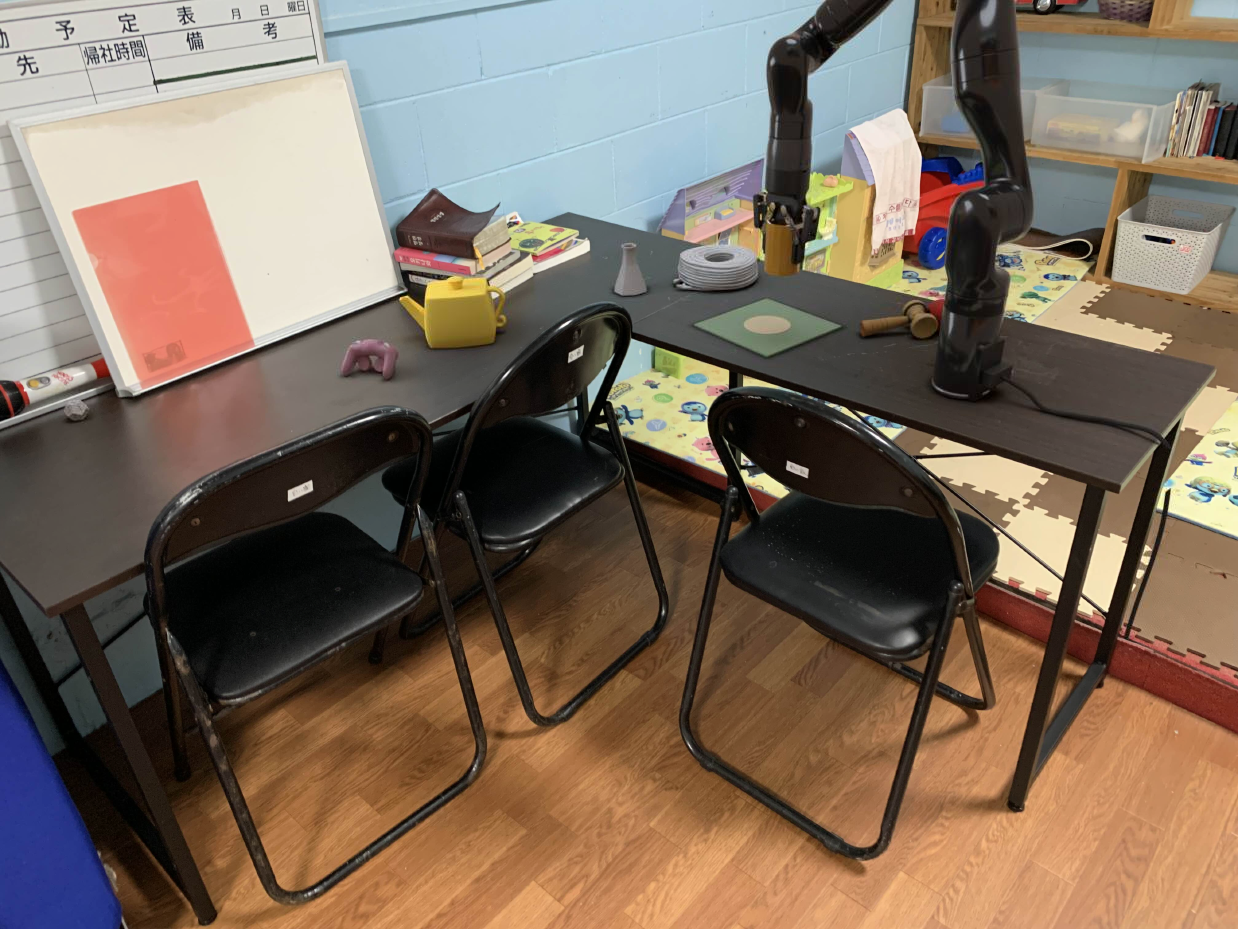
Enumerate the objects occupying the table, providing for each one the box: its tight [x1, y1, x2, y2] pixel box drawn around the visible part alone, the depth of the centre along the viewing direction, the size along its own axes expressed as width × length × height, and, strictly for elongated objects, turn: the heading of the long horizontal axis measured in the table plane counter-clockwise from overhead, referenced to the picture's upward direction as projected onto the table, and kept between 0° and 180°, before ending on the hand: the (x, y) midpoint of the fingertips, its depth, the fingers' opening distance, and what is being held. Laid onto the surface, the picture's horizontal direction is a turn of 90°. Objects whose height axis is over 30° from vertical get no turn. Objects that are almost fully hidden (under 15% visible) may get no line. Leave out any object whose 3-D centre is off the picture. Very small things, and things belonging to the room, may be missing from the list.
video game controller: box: [341, 338, 399, 380], centre depth 168 cm, size 10×5×7 cm, turn 74°
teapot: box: [398, 275, 507, 349], centre depth 179 cm, size 20×12×12 cm, turn 96°
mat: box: [693, 298, 843, 358], centre depth 179 cm, size 20×20×1 cm
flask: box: [614, 242, 648, 296], centre depth 197 cm, size 7×7×10 cm
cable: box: [672, 244, 759, 292], centre depth 201 cm, size 18×18×6 cm
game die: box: [63, 398, 90, 422], centre depth 158 cm, size 4×4×3 cm
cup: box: [763, 219, 801, 277], centre depth 164 cm, size 6×6×9 cm
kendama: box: [859, 298, 945, 339], centre depth 173 cm, size 8×6×18 cm
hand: (782, 258), depth 165 cm, fingers closed on cup, 6 cm apart
